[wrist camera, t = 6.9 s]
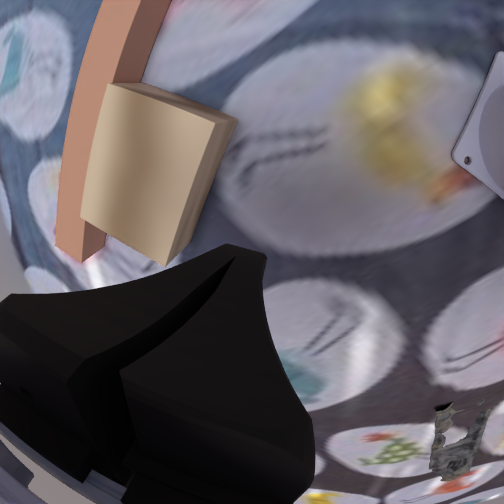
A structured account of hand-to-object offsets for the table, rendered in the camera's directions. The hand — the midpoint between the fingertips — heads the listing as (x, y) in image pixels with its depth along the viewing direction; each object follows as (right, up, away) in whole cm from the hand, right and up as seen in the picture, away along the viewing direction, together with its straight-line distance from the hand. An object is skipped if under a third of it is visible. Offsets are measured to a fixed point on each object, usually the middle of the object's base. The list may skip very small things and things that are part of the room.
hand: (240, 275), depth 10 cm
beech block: (-5, +7, +10) cm, 13 cm away
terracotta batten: (-9, +10, +9) cm, 16 cm away
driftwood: (+24, -21, +16) cm, 36 cm away
